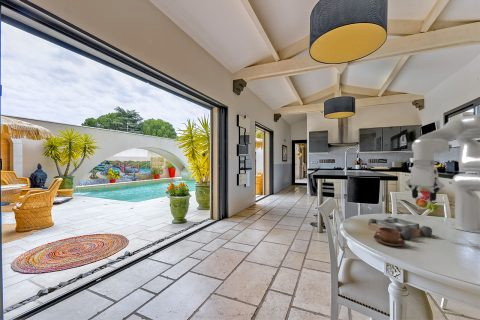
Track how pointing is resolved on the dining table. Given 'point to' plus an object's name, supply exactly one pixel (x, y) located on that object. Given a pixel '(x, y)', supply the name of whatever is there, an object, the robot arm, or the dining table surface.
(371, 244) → the dining table surface
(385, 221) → the chassis
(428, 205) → the bird rattle
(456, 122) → the robot arm
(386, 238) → the cup and saucer
